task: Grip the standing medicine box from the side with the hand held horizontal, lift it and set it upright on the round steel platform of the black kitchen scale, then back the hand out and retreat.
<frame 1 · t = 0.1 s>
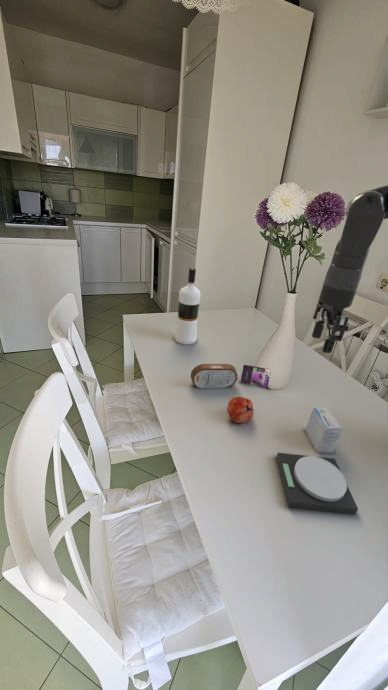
hand: (320, 344, 80), 24 cm above the table, tool pointing down, fingers open, 8 cm apart
tin: (212, 387, 99), on the table
medicine box: (317, 442, 81), on the table
kitchen scale: (311, 485, 69), on the table
purple box: (253, 383, 103), on the table
vodka: (185, 340, 126), on the table
pomegranate: (237, 419, 86), on the table
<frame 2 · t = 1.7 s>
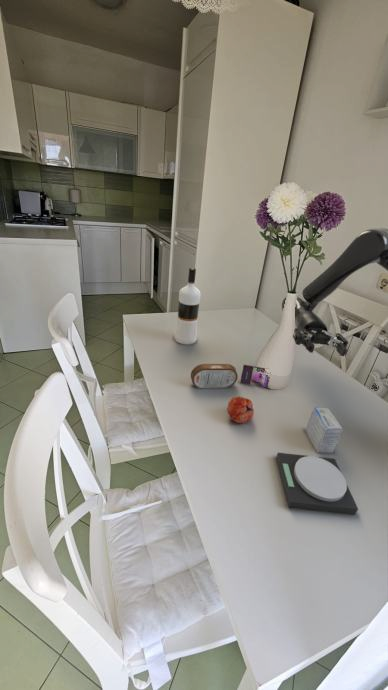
hand: (328, 351, 81), 22 cm above the table, tool horizontal, fingers open, 8 cm apart
nothing on the table moved.
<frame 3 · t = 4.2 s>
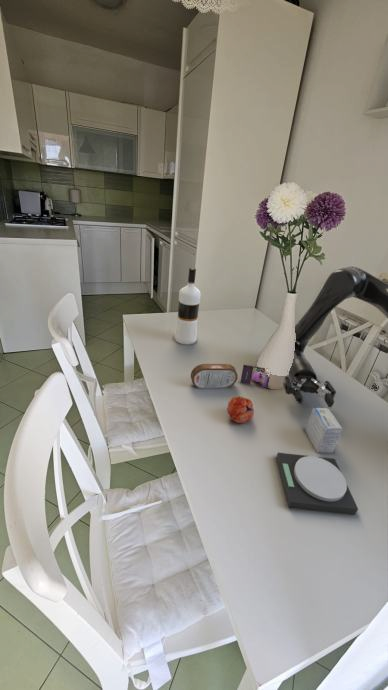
hand: (316, 403, 85), 7 cm above the table, tool horizontal, fingers open, 8 cm apart
nothing on the table moved.
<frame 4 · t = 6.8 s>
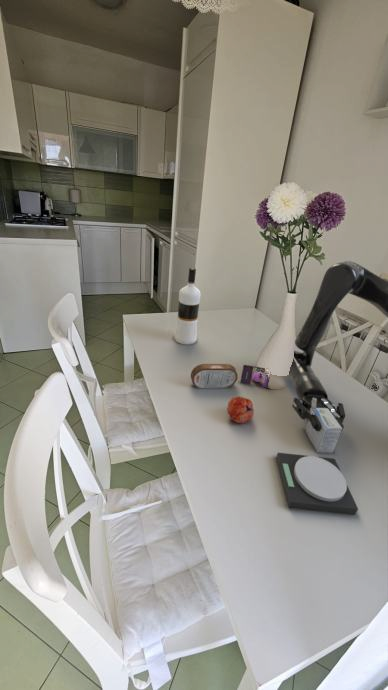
hand: (329, 429, 76), 7 cm above the table, tool horizontal, fingers closed on medicine box, 5 cm apart
medicine box: (317, 442, 81), on the table, touching gripper
everything else where it was.
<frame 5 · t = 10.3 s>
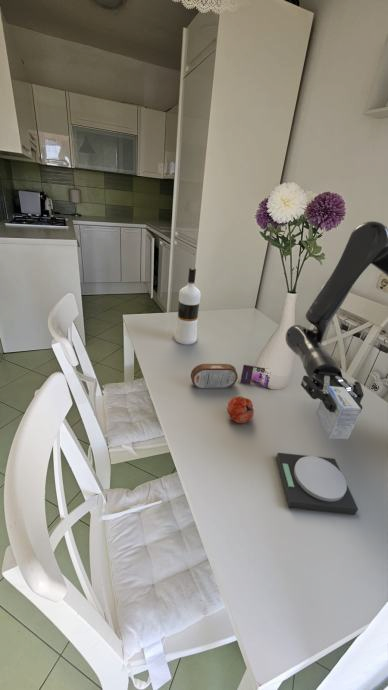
hand: (345, 410, 64), 19 cm above the table, tool horizontal, fingers closed on medicine box, 4 cm apart
medicine box: (330, 427, 70), point 11 cm above the table, touching gripper
everything else where it was.
when the fingers open (11 cm above the table, at t = 14.0 s): medicine box stays where it is, resting on kitchen scale.
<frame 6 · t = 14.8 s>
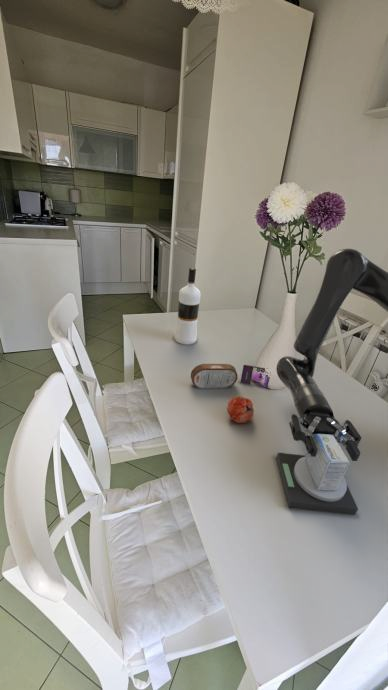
hand: (335, 456, 62), 12 cm above the table, tool horizontal, fingers open, 8 cm apart
medicine box: (319, 476, 67), point 3 cm above the table, touching kitchen scale
everything else where it was.
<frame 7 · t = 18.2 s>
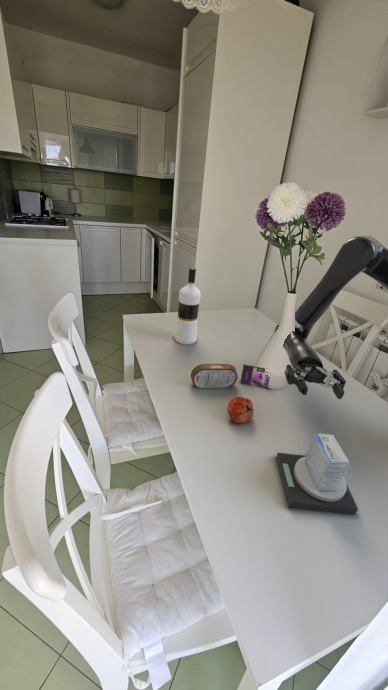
hand: (323, 394, 72), 16 cm above the table, tool horizontal, fingers open, 8 cm apart
nothing on the table moved.
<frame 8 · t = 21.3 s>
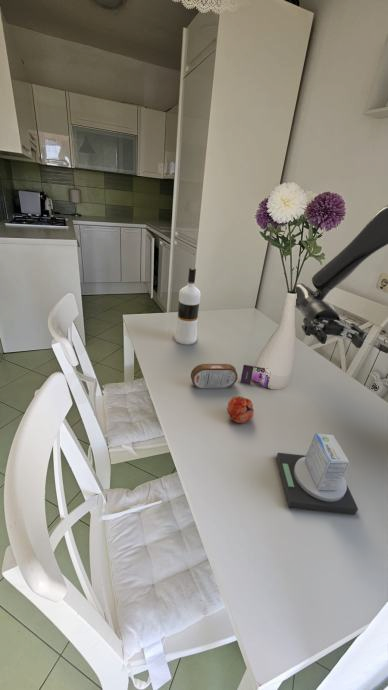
hand: (342, 342, 72), 28 cm above the table, tool horizontal, fingers open, 8 cm apart
nothing on the table moved.
at the end: medicine box 0.2 cm from the target spot on the kitchen scale, point 3.3 cm above the kitchen scale's base; medicine box tilted 0°; the gripper is holding nothing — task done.
